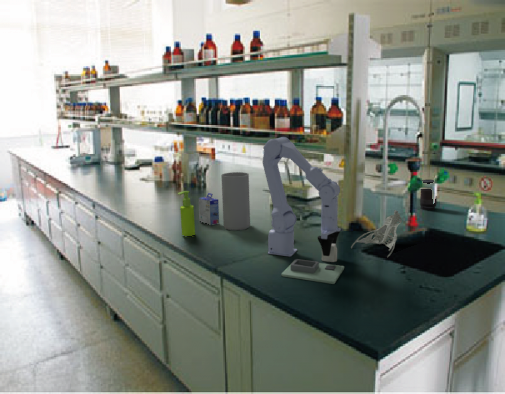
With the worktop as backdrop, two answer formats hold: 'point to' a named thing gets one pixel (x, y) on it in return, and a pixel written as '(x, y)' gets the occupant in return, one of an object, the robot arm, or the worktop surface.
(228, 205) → the cylinder vase
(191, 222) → the soap dispenser
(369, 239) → the skeletal model
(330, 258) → the keyed plug
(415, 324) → the worktop surface
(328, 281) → the white board with tray
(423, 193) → the camera lens
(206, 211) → the ink cartridge box
